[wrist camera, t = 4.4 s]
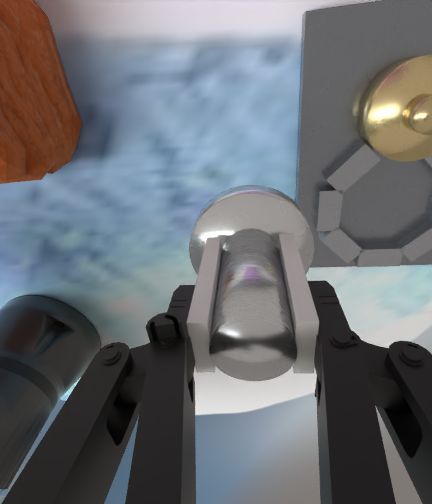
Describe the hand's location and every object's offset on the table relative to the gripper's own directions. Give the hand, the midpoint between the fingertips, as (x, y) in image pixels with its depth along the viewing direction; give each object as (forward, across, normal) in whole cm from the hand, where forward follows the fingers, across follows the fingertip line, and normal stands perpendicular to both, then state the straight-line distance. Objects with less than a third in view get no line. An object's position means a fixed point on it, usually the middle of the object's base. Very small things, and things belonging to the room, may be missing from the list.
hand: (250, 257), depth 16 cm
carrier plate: (+15, +13, +1) cm, 19 cm away
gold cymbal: (+13, +12, +5) cm, 19 cm away
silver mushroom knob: (+2, 0, 0) cm, 2 cm away
